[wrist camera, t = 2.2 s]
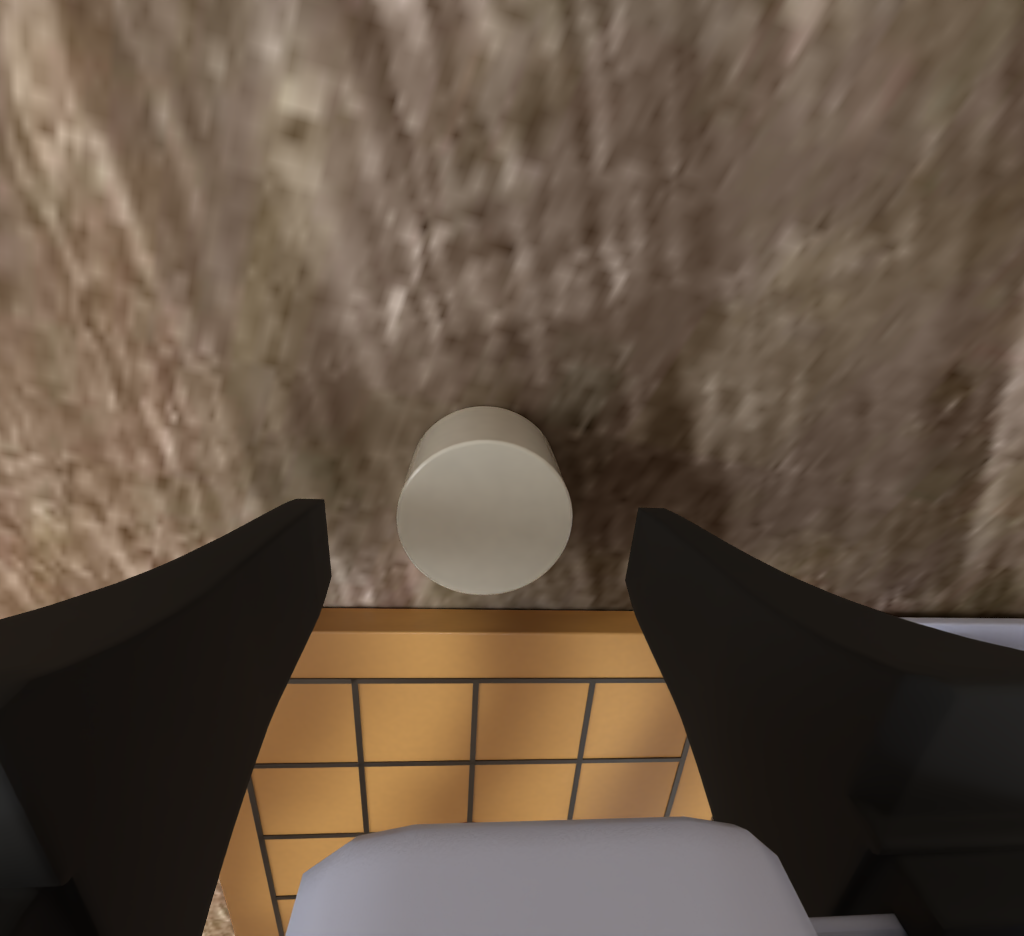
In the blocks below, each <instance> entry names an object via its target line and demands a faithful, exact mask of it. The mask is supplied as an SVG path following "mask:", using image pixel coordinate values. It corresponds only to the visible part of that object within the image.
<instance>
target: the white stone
mask: <svg viewBox="0 0 1024 936" xmlns="http://www.w3.org/2000/svg"><path fill="white" fill-rule="evenodd" d="M572 521H573V510H572V503H571V499H570V495H569V492H568V489H567V487H566V484H565V482H564V479H563V476H562V474H561V471H560V469H559V466H558V464H557V461H556V458H555V456H554V453H553V451H552V448H551V446H550V444H549V442H548V441H547V439H546V437H545V436H544V435H543V433H542V432H541V431H540V430H539V429H538V428H537V427H536V426H535V425H534V424H533V423H532V422H530V421H529V420H528V419H526V418H525V417H523V416H521V415H519V414H517V413H515V412H512V411H510V410H507V409H503V408H498V407H490V406H477V407H470V408H465V409H462V410H458V411H456V412H453V413H451V414H449V415H447V416H445V417H443V418H442V419H440V420H439V421H438V422H436V423H435V424H434V425H432V427H431V428H430V429H429V430H428V431H427V432H426V433H425V434H424V436H423V437H422V438H421V440H420V441H419V443H418V445H417V447H416V449H415V452H414V455H413V458H412V461H411V464H410V467H409V470H408V473H407V476H406V479H405V482H404V485H403V488H402V491H401V494H400V497H399V500H398V505H397V513H396V523H397V531H398V535H399V539H400V541H401V544H402V546H403V549H404V550H405V552H406V554H407V555H408V557H409V559H410V560H411V561H412V563H413V564H414V565H415V566H416V567H417V568H418V569H419V570H420V571H421V572H422V573H423V574H424V575H425V576H427V577H428V578H429V579H431V580H432V581H434V582H436V583H437V584H439V585H441V586H443V587H446V588H448V589H450V590H454V591H457V592H461V593H466V594H472V595H494V594H501V593H506V592H510V591H514V590H516V589H519V588H521V587H524V586H526V585H528V584H530V583H532V582H533V581H535V580H536V579H538V578H539V577H541V576H542V575H543V574H544V573H546V572H547V571H548V570H549V569H550V568H551V567H552V566H553V565H554V564H555V563H556V561H557V560H558V558H559V557H560V556H561V554H562V552H563V550H564V548H565V547H566V545H567V542H568V539H569V537H570V534H571V529H572Z"/></svg>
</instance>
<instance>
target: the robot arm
mask: <svg viewBox="0 0 1024 936" xmlns="http://www.w3.org/2000/svg"><path fill="white" fill-rule="evenodd" d="M331 577H332V576H331V566H330V555H329V545H328V534H327V524H326V513H325V503H324V500H323V499H294V500H292V501H289V502H287V503H285V504H283V505H281V506H279V507H277V508H275V509H273V510H271V511H269V512H267V513H265V514H264V515H262V516H260V517H258V518H256V519H254V520H252V521H251V522H249V523H247V524H245V525H243V526H241V527H239V528H238V529H236V530H234V531H232V532H230V533H228V534H226V535H224V536H222V537H220V538H218V539H216V540H214V541H212V542H210V543H208V544H206V545H204V546H202V547H200V548H198V549H196V550H194V551H192V552H190V553H188V554H186V555H184V556H181V557H179V558H177V559H175V560H173V561H170V562H168V563H166V564H164V565H161V566H159V567H156V568H154V569H152V570H149V571H147V572H144V573H142V574H139V575H136V576H134V577H131V578H129V579H126V580H124V581H121V582H118V583H116V584H113V585H110V586H107V587H104V588H101V589H98V590H95V591H92V592H89V593H86V594H83V595H80V596H77V597H74V598H71V599H68V600H65V601H62V602H59V603H56V604H53V605H50V606H46V607H43V608H39V609H36V610H32V611H29V612H25V613H22V614H18V615H15V616H11V617H8V618H4V619H0V936H202V933H203V930H204V926H205V923H206V919H207V915H208V912H209V908H210V905H211V901H212V898H213V895H214V891H215V888H216V885H217V882H218V878H219V875H220V872H221V868H222V865H223V862H224V859H225V855H226V852H227V849H228V846H229V842H230V839H231V836H232V832H233V829H234V826H235V823H236V820H237V817H238V814H239V811H240V808H241V805H242V802H243V799H244V796H245V793H246V790H247V787H248V784H249V781H250V778H251V775H252V772H253V769H254V766H255V763H256V760H257V757H258V755H259V752H260V749H261V746H262V743H263V740H264V738H265V735H266V732H267V729H268V726H269V724H270V721H271V719H272V717H273V714H274V712H275V710H276V707H277V705H278V703H279V700H280V698H281V696H282V694H283V692H284V690H285V688H286V686H287V684H288V682H289V679H290V677H291V675H292V673H293V671H294V669H295V667H296V665H297V663H298V661H299V658H300V656H301V654H302V652H303V650H304V648H305V646H306V644H307V642H308V639H309V637H310V635H311V633H312V631H313V629H314V627H315V624H316V622H317V620H318V618H319V615H320V613H321V610H322V607H323V603H324V600H325V597H326V594H327V590H328V587H329V583H330V580H331ZM625 581H626V585H627V589H628V592H629V596H630V600H631V603H632V606H633V610H634V613H635V616H636V619H637V621H638V623H639V626H640V628H641V630H642V632H643V635H644V637H645V639H646V641H647V643H648V646H649V648H650V650H651V652H652V654H653V657H654V659H655V661H656V663H657V665H658V667H659V670H660V672H661V674H662V676H663V678H664V680H665V683H666V685H667V687H668V689H669V691H670V694H671V696H672V698H673V700H674V703H675V705H676V707H677V710H678V712H679V715H680V717H681V720H682V723H683V726H684V729H685V732H686V734H687V737H688V740H689V743H690V746H691V749H692V752H693V755H694V758H695V761H696V764H697V767H698V771H699V774H700V777H701V780H702V784H703V787H704V790H705V793H706V796H707V800H708V803H709V806H710V809H711V813H712V816H713V819H714V821H710V820H704V819H697V818H691V817H685V816H681V817H647V818H614V819H580V820H546V821H512V822H478V823H444V824H415V825H410V826H405V827H400V828H395V829H390V830H385V831H380V832H375V833H370V834H364V835H359V836H357V837H355V838H354V839H353V840H351V841H350V842H348V843H347V844H345V845H344V846H342V847H341V848H339V849H338V850H337V851H335V852H334V853H332V854H331V855H329V856H328V857H326V858H325V859H323V860H322V861H320V862H319V863H318V864H316V865H315V866H313V867H312V868H310V869H309V870H308V871H306V872H305V873H303V875H302V879H301V882H300V886H299V889H298V893H297V896H296V900H295V903H294V906H293V910H292V913H291V917H290V921H289V924H288V928H287V931H286V935H285V936H1024V619H1023V618H917V617H896V616H892V615H889V614H886V613H883V612H881V611H878V610H875V609H872V608H869V607H867V606H864V605H861V604H858V603H855V602H852V601H850V600H847V599H844V598H842V597H839V596H837V595H834V594H832V593H829V592H827V591H824V590H822V589H820V588H817V587H815V586H813V585H810V584H808V583H806V582H803V581H801V580H799V579H796V578H794V577H792V576H790V575H788V574H786V573H784V572H781V571H779V570H777V569H775V568H773V567H771V566H770V565H768V564H766V563H764V562H762V561H760V560H758V559H756V558H754V557H752V556H750V555H748V554H746V553H745V552H743V551H741V550H739V549H737V548H736V547H734V546H732V545H730V544H728V543H727V542H725V541H723V540H721V539H720V538H718V537H716V536H714V535H713V534H711V533H709V532H708V531H706V530H704V529H702V528H701V527H699V526H697V525H695V524H694V523H692V522H690V521H688V520H687V519H685V518H683V517H681V516H679V515H677V514H675V513H673V512H671V511H669V510H667V509H664V508H638V513H637V519H636V524H635V530H634V535H633V541H632V546H631V552H630V557H629V563H628V568H627V573H626V579H625Z"/></svg>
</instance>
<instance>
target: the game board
mask: <svg viewBox="0 0 1024 936" xmlns="http://www.w3.org/2000/svg"><path fill="white" fill-rule="evenodd" d="M681 816H685V817H691V818H697V819H704V820H710V821H711V818H712V813H711V809H710V806H709V803H708V800H707V796H706V793H705V790H704V787H703V784H702V780H701V777H700V774H699V771H698V767H697V764H696V761H695V758H694V755H693V752H692V749H691V746H690V743H689V740H688V737H687V734H686V732H685V729H684V726H683V723H682V720H681V717H680V715H679V712H678V710H677V707H676V705H675V703H674V700H673V698H672V696H671V694H670V691H669V689H668V687H667V685H666V683H665V680H664V678H663V676H662V674H661V672H660V670H659V667H658V665H657V663H656V661H655V659H654V657H653V654H652V652H651V650H650V648H649V646H648V643H647V641H646V639H645V637H644V635H643V632H642V630H641V628H640V626H639V623H638V621H637V619H636V616H635V613H634V611H578V610H478V609H379V608H322V610H321V613H320V615H319V618H318V620H317V622H316V624H315V627H314V629H313V631H312V633H311V635H310V637H309V639H308V642H307V644H306V646H305V648H304V650H303V652H302V654H301V656H300V658H299V661H298V663H297V665H296V667H295V669H294V671H293V673H292V675H291V677H290V679H289V682H288V684H287V686H286V688H285V690H284V692H283V694H282V696H281V698H280V700H279V703H278V705H277V707H276V710H275V712H274V714H273V717H272V719H271V721H270V724H269V726H268V729H267V732H266V735H265V738H264V740H263V743H262V746H261V749H260V752H259V755H258V757H257V760H256V763H255V766H254V769H253V772H252V775H251V778H250V781H249V784H248V787H247V790H246V793H245V796H244V799H243V802H242V805H241V808H240V811H239V814H238V817H237V820H236V823H235V826H234V829H233V832H232V836H231V839H230V842H229V846H228V849H227V852H226V855H225V859H224V862H223V865H222V868H221V872H220V875H219V879H220V883H221V886H222V890H223V894H224V897H225V901H226V904H227V908H228V912H229V915H230V919H231V922H232V926H233V930H234V933H235V936H285V935H286V931H287V928H288V924H289V921H290V917H291V913H292V910H293V906H294V903H295V900H296V896H297V893H298V889H299V886H300V882H301V879H302V875H303V873H305V872H306V871H308V870H309V869H310V868H312V867H313V866H315V865H316V864H318V863H319V862H320V861H322V860H323V859H325V858H326V857H328V856H329V855H331V854H332V853H334V852H335V851H337V850H338V849H339V848H341V847H342V846H344V845H345V844H347V843H348V842H350V841H351V840H353V839H354V838H355V837H357V836H359V835H364V834H370V833H375V832H380V831H385V830H390V829H395V828H400V827H405V826H410V825H415V824H444V823H478V822H512V821H546V820H580V819H614V818H647V817H681Z"/></svg>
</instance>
